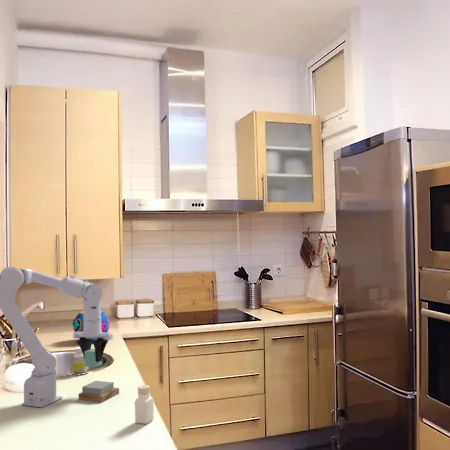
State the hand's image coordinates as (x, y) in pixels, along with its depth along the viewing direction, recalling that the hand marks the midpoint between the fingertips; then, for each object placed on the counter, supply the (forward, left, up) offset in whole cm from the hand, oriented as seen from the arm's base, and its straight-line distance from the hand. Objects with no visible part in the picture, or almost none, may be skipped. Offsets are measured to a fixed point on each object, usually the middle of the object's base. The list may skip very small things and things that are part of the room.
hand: (93, 360), depth 161 cm
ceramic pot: (+69, +55, -11) cm, 89 cm away
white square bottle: (-17, -30, -11) cm, 36 cm away
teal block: (0, 0, -2) cm, 2 cm away
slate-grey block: (-3, -4, -9) cm, 10 cm away
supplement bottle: (+18, +20, -11) cm, 29 cm away
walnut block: (-3, -4, -11) cm, 12 cm away
